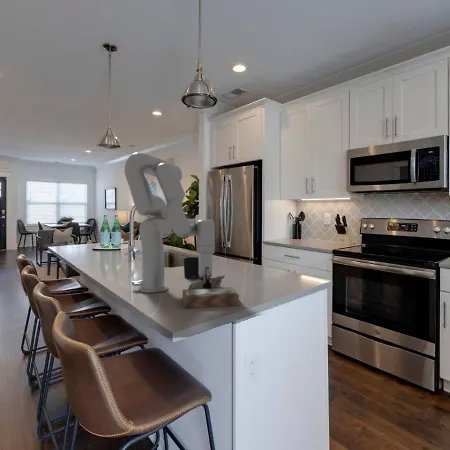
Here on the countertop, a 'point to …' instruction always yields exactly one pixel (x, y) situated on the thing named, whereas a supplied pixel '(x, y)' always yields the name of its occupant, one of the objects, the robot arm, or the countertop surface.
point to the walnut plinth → (210, 297)
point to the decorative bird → (214, 283)
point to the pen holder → (191, 268)
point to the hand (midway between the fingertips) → (205, 289)
